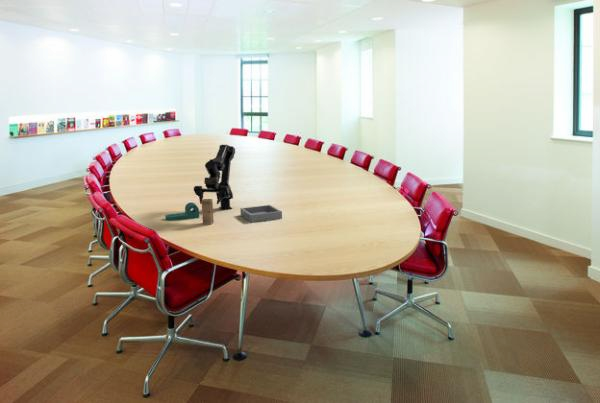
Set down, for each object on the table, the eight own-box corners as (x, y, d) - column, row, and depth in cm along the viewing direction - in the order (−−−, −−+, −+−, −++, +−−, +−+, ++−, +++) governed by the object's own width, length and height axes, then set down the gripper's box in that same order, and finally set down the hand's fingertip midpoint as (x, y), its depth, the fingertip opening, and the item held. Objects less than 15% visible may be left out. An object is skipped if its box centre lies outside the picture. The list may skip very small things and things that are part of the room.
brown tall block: (205, 222, 260) (204, 198, 257) (213, 222, 260) (212, 198, 257) (202, 224, 256) (201, 200, 253) (211, 224, 255) (209, 200, 252)
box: (240, 215, 274) (240, 208, 273) (270, 211, 282) (269, 204, 281) (251, 222, 258) (250, 215, 258) (282, 218, 266) (281, 211, 265)
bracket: (197, 215, 276) (196, 201, 275) (199, 218, 270) (198, 204, 269) (165, 218, 270) (164, 204, 269) (166, 221, 264) (165, 207, 262)
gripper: (193, 171, 261) (187, 195, 253) (227, 171, 259) (222, 195, 251) (199, 183, 270) (193, 206, 262) (231, 183, 268) (227, 207, 260)
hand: (208, 203), depth 258 cm, fingers open, 9 cm apart
